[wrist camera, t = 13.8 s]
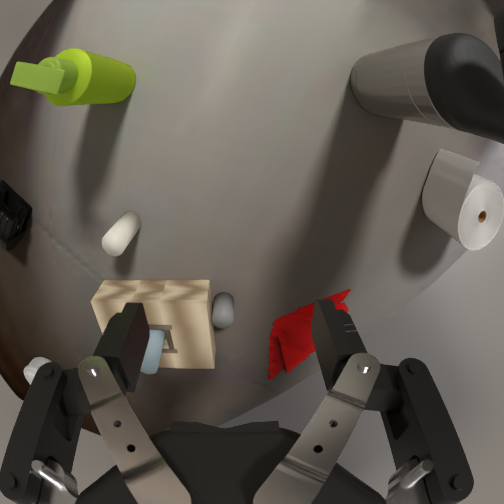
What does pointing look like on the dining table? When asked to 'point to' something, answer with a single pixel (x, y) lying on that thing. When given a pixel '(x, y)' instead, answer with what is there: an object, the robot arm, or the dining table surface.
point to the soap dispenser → (77, 78)
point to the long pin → (153, 351)
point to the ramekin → (34, 367)
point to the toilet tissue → (462, 200)
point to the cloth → (295, 337)
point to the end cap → (12, 216)
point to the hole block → (167, 316)
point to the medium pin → (121, 234)
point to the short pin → (223, 310)
